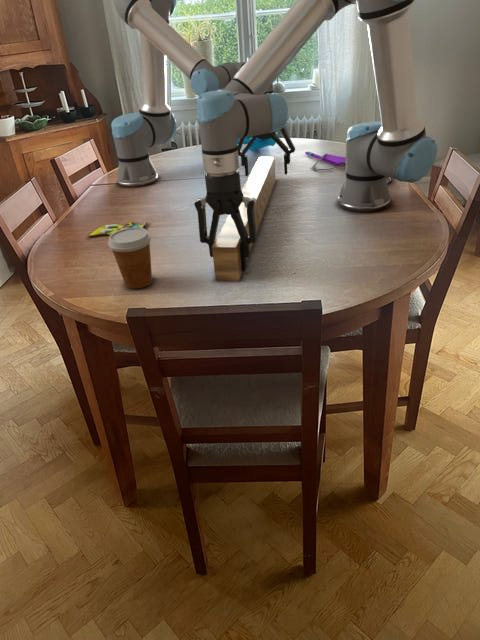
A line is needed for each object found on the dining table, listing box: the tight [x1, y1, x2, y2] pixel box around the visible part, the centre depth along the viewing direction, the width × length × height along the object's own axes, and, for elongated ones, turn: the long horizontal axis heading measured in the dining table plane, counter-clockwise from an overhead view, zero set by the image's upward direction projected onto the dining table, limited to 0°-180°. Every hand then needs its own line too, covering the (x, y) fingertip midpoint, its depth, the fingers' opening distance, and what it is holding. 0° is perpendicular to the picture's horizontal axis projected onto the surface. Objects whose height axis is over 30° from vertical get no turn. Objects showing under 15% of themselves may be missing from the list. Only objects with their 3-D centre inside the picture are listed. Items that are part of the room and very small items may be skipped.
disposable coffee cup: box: [107, 227, 153, 289], centre depth 110 cm, size 10×10×12 cm
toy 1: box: [88, 221, 148, 238], centre depth 142 cm, size 10×1×15 cm
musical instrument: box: [304, 151, 346, 171], centre depth 185 cm, size 24×2×20 cm
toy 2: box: [237, 131, 280, 153], centre depth 207 cm, size 17×11×30 cm
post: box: [212, 155, 277, 282], centre depth 139 cm, size 75×6×8 cm, turn 170°
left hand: (266, 174), depth 166 cm, fingers open, 13 cm apart
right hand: (231, 268), depth 115 cm, fingers closed on post, 6 cm apart
